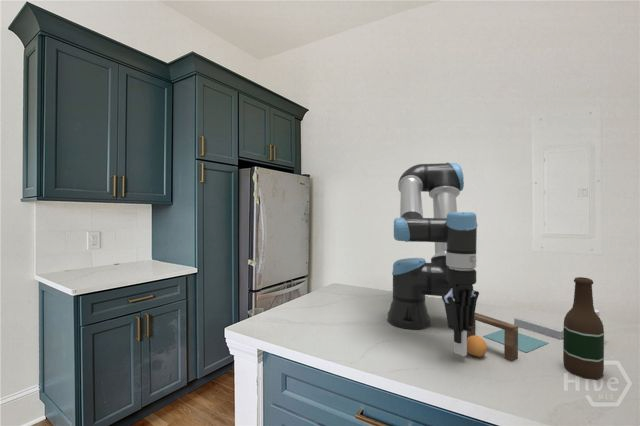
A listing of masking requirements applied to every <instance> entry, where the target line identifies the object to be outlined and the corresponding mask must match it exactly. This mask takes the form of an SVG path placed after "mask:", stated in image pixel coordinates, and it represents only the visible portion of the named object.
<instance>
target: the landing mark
mask: <svg viewBox="0 0 640 426" xmlns="http://www.w3.org/2000/svg"><path fill="white" fill-rule="evenodd" d="M504 332H505V330H503V329H500V330H498V331H493V332H490V333H488V334H485V335H483V336H482V338H483V337H484V338H486V339H489V340H491V341H493V342H496V343H498V344H502V345H504ZM548 344H549V342H547V341H544V340H541V339H538V338H536V337H532V336H529V335H527V334H523V333H520V332H518V351H520V352H523V353H526V354H527V353H529V352H532V351H535V350H536V349H539V348H541V347H544V346H546V345H548Z"/></svg>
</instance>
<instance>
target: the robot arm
mask: <svg viewBox="0 0 640 426" xmlns="http://www.w3.org/2000/svg"><path fill="white" fill-rule="evenodd" d="M397 182H398V184H397V185H398V191H399V192H400V205H399V208H400V209H399V211H400V212H399V213H400V214H399V217H395V218H394V220H393V238H394V240H395V241H399V242H406V243H407V242H411V243H414V242H415V243H419V242H420V243H422V242H423V243H434V255H433V256H432V257H430V262H427V260H426V258H421V257H410V258H409V257H408V258H407V257H406V258H401V259H398V260H396V261H394V262H393V264H392V272H391V275H392V299H391V303H390V306H389V307H390V308H389V311H388V312H387V322H388V323H389V324H391V325H392V326H395V327H398V328H402V329H407V330H421V329H422V330H423V329H427V328H428V327H430V325H431V317H430V315H429V312H428V308H427V304H426V296H432V297H434V296H435V297H441V299H442V302H443V304H444V309H445V317H446V321H447V322H446V323H447V327H448V329H450V330H453V342H454V349H453V351H454V353H456V354H457V355H459V356H462V357H465V356H467V355H468V351H467V331H471V328H469V327H472V326H473V322H474V315H475V313H476V307H477V301H478V298H479V295H480V292H479V290H478V291H477V290H475V289H474V285H476V283H477V270H476V268H477V240H478V238H477V237H478V235H477V233H478V231H477V229H478V223H477V214H476V213H475V212H473V211H458V207H457V206H458V205H457V197H458V196H459V195H460V194H461V191H463V189H464V186H465V185H464V183H465V181H464V172H463V168H462V166H461V165H460V164H458V163H457V162H446V163H441V162H439V163H419V164H416V165H413V166H411V167H409V168H407V169H406V170H405V171H404V172H403V173H402V175H401V176H400V177H399V179H398V181H397ZM422 192H424V193H425V192H426V193H428V197H430V198H431V199H432V203H433V204H432V206H433V208H432V209H433V218H432V217H424V211H423V201H422V199H423V198H422Z"/></svg>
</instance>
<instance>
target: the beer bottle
mask: <svg viewBox="0 0 640 426" xmlns="http://www.w3.org/2000/svg"><path fill="white" fill-rule="evenodd" d="M573 282H574V292H573V293H574V294H573V304H572V307H571V309H570V310H569V311H567V313H566V314H565V316H564V319H563V339H562V340H563V341H562V342H563V351H562V352H563V353H562V356H563V357H562V359H563V366H564V368H565V369H566V371H568V372H569V373H571V374H572V375H574V376H575V375H576V376H578V377H580V378H583V379H589V380H595V381H597V380H599V379H601V378H603V377H604V369H605V366H604V364H605V362H604V361H605V330H604V324H602V322H603V320H602V321H601V319H602V318H601V317H600V315H599V316H598V315H597V314H596V313H595V310H594V309H595V307H594V296H593V284H594V281H593V279H591V278H589V277H582V276H579V277H578V276H577V277H574V279H573ZM600 318H601V319H600Z"/></svg>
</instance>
